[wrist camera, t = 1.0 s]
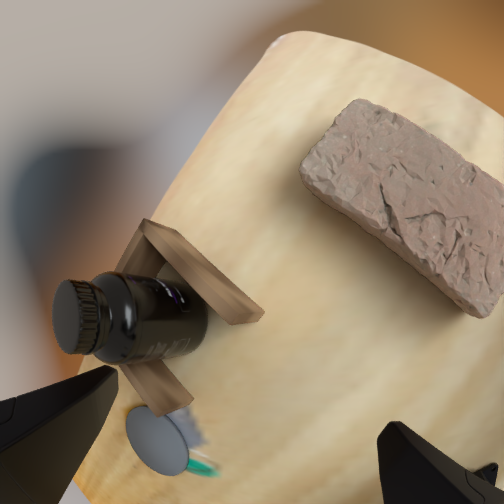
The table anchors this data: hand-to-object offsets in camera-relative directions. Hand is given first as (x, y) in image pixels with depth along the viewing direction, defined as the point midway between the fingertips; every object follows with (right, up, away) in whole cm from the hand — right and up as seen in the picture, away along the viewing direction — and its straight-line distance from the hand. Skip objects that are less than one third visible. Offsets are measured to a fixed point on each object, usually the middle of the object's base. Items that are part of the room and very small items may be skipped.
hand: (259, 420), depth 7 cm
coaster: (-11, -16, +16) cm, 25 cm away
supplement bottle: (-7, -1, +18) cm, 19 cm away
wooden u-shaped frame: (-7, -1, +17) cm, 19 cm away
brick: (+12, +8, +11) cm, 18 cm away
